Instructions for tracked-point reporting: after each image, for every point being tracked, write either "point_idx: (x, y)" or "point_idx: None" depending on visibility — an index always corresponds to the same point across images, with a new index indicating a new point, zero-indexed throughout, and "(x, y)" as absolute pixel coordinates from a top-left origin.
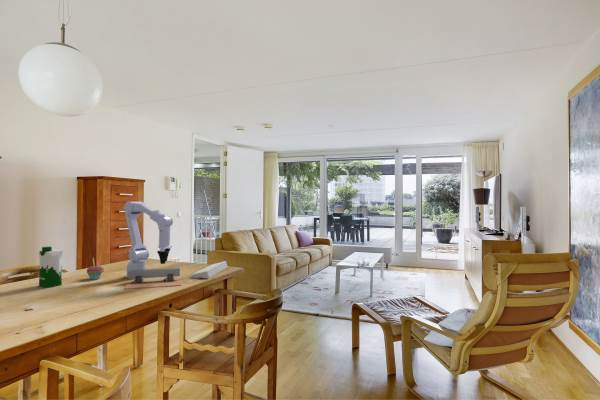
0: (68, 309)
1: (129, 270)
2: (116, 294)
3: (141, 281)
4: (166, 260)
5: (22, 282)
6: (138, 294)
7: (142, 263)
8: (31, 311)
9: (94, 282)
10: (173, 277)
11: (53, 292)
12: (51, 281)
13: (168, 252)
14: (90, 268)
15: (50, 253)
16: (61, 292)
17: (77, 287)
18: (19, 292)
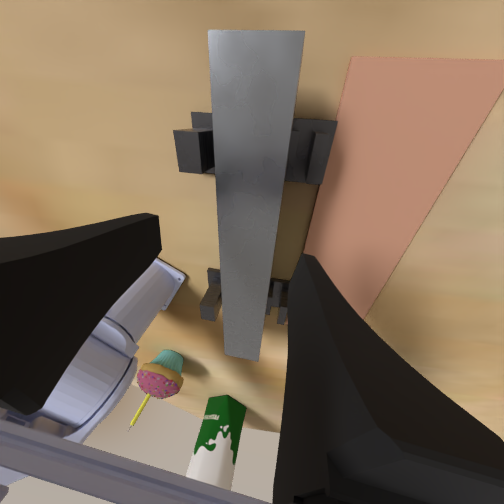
0: None
1: (234, 355)
2: (413, 357)
3: (270, 286)
4: (153, 220)
5: (192, 412)
6: (488, 318)
7: (125, 318)
8: None
9: (218, 362)
10: (205, 116)
11: None
12: (240, 418)
13: (30, 262)
14: (168, 396)
15: None
16: None
17: (262, 386)
18: (267, 425)
